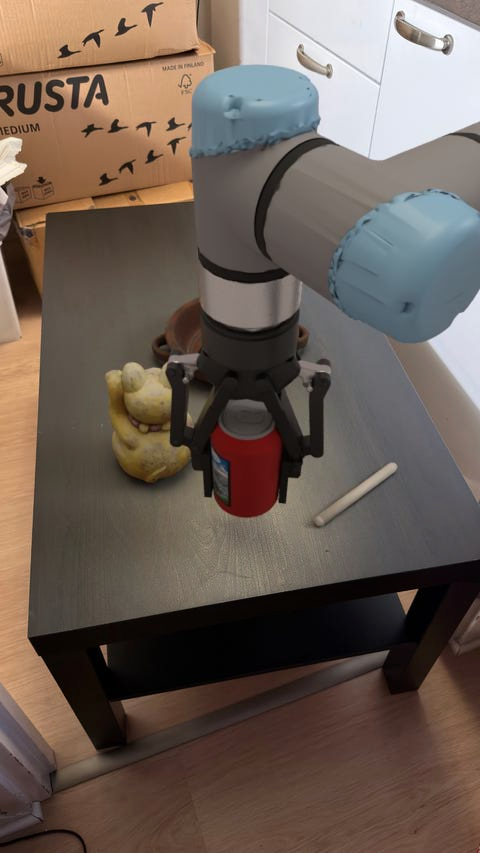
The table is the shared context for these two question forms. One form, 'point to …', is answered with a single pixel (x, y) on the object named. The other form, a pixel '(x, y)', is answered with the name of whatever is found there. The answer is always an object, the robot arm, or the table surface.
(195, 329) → the dish
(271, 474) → the beverage can
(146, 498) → the table surface
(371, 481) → the wooden stick
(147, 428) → the decorative figurine
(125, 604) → the table surface
